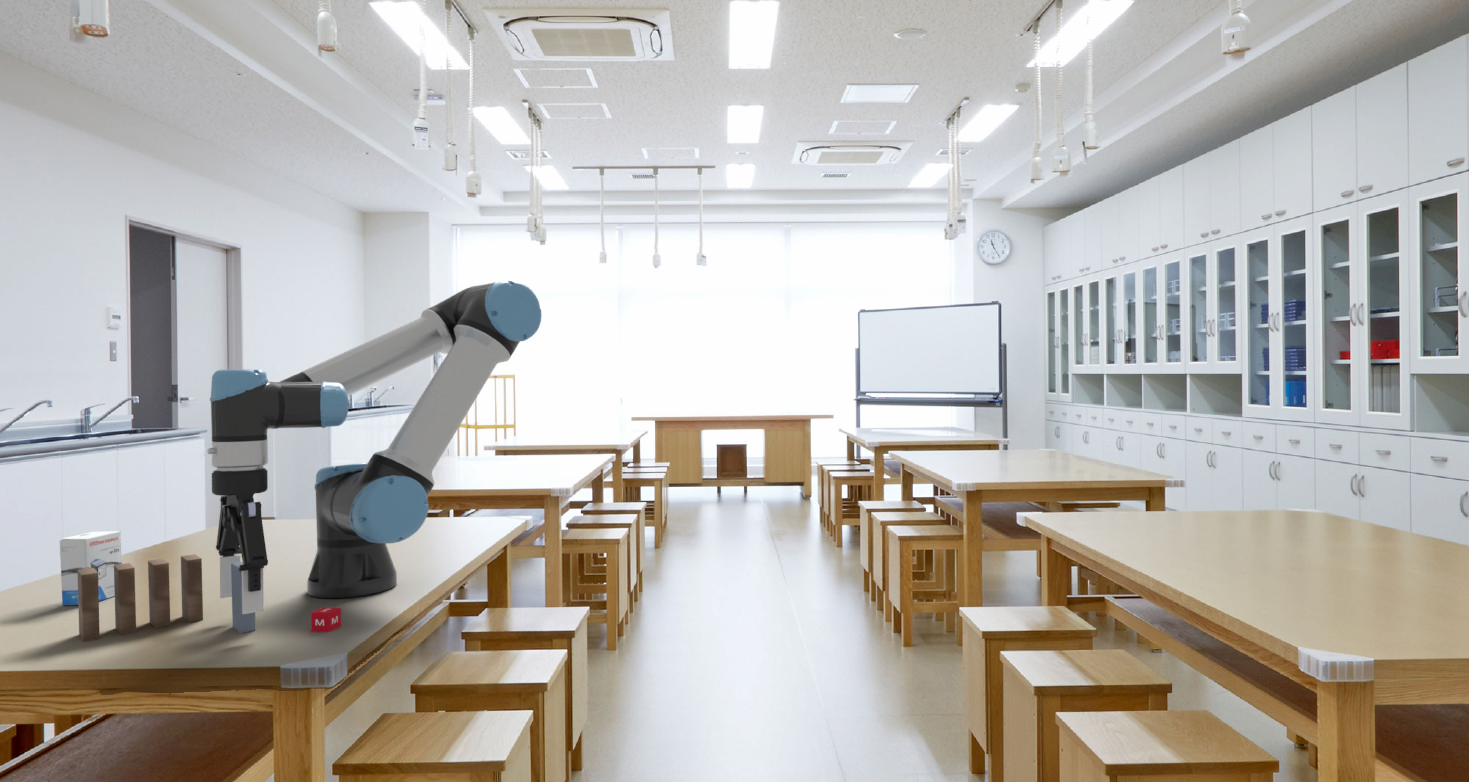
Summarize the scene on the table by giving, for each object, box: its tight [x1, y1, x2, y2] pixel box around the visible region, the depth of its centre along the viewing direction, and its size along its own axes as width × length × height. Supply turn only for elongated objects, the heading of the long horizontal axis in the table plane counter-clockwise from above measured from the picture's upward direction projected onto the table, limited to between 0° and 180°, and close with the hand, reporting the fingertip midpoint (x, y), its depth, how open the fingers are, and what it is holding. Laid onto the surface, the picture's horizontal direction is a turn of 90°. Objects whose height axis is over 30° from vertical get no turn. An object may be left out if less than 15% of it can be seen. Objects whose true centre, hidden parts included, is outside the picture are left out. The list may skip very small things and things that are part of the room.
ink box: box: [59, 530, 123, 606], centre depth 151 cm, size 9×5×12 cm, turn 178°
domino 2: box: [147, 558, 171, 629], centre depth 134 cm, size 2×5×10 cm, turn 43°
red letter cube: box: [310, 606, 342, 633], centre depth 130 cm, size 3×3×3 cm
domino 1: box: [114, 562, 137, 635], centre depth 131 cm, size 2×5×10 cm, turn 43°
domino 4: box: [231, 561, 256, 634], centre depth 131 cm, size 2×5×10 cm, turn 43°
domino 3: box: [180, 554, 204, 623], centre depth 137 cm, size 2×5×10 cm, turn 43°
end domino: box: [77, 568, 101, 642], centre depth 128 cm, size 2×5×10 cm, turn 43°
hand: (241, 604), depth 131 cm, fingers open, 13 cm apart
